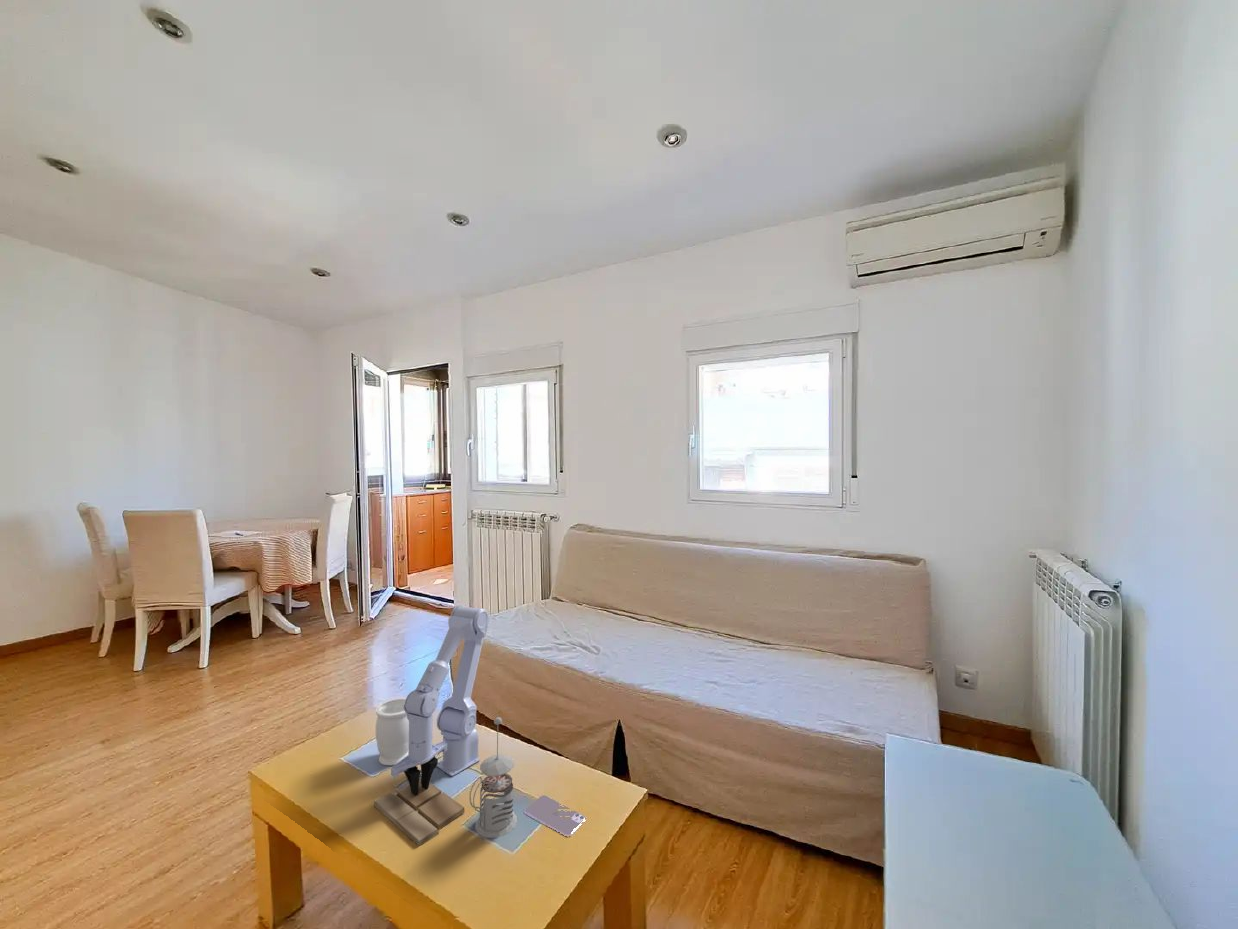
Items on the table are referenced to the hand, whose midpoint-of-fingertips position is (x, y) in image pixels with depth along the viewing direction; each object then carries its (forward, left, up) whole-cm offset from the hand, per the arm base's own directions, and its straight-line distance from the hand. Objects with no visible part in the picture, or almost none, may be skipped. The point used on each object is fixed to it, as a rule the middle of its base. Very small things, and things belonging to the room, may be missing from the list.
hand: (419, 790), depth 124 cm
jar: (-4, -21, -2) cm, 22 cm away
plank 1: (0, 0, -1) cm, 1 cm away
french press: (-5, +23, -2) cm, 24 cm away
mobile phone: (-17, +33, -2) cm, 37 cm away
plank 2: (0, +10, -1) cm, 10 cm away
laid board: (+7, +5, -1) cm, 9 cm away
